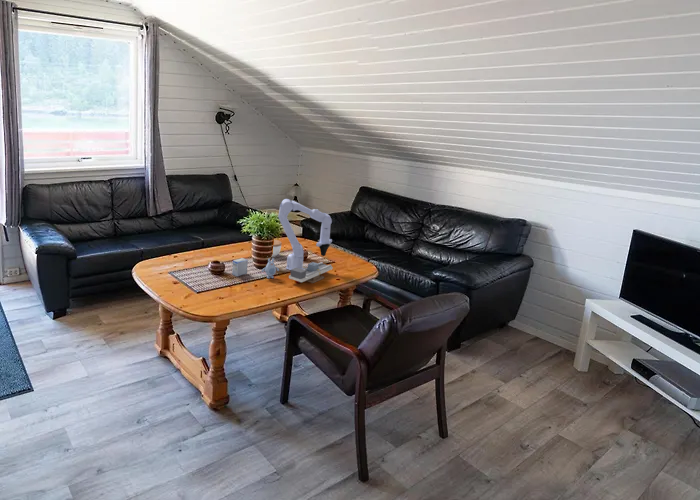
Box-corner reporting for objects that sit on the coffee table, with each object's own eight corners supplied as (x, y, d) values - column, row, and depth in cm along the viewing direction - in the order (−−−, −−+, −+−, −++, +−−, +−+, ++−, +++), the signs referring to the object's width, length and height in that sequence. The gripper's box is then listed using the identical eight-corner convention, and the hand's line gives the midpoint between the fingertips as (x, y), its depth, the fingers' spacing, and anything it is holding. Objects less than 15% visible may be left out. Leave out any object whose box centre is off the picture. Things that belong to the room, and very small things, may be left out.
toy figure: (262, 280, 291) (263, 260, 288) (259, 276, 297) (260, 256, 293) (280, 279, 296) (281, 259, 293) (277, 275, 302) (278, 256, 298)
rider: (307, 270, 302) (308, 263, 301) (312, 268, 306) (312, 262, 305) (313, 272, 300) (314, 265, 299) (318, 270, 304) (319, 263, 303)
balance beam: (287, 282, 292) (288, 268, 290) (318, 269, 319) (319, 256, 316) (302, 287, 287) (303, 273, 284) (333, 274, 314) (334, 261, 311)
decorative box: (270, 259, 328) (271, 243, 325) (257, 254, 335) (258, 238, 332) (284, 256, 338) (285, 239, 334) (271, 251, 345) (272, 235, 341)
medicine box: (241, 271, 302) (242, 257, 299) (247, 273, 299) (248, 259, 297) (231, 274, 295) (232, 260, 293) (237, 276, 293) (237, 262, 290)
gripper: (324, 237, 303) (322, 259, 307) (337, 233, 315) (334, 254, 319) (314, 235, 306) (312, 256, 310) (327, 231, 318) (325, 251, 322)
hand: (323, 255), depth 315 cm, fingers closed
